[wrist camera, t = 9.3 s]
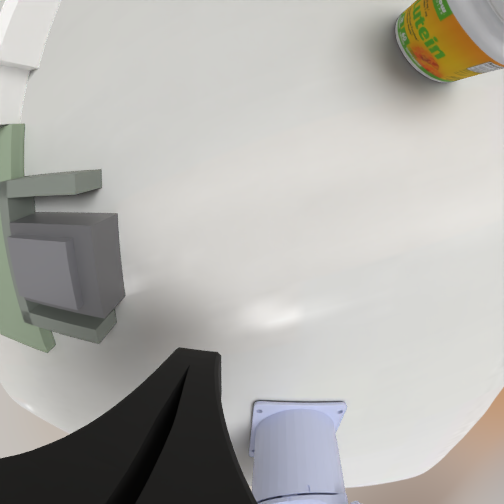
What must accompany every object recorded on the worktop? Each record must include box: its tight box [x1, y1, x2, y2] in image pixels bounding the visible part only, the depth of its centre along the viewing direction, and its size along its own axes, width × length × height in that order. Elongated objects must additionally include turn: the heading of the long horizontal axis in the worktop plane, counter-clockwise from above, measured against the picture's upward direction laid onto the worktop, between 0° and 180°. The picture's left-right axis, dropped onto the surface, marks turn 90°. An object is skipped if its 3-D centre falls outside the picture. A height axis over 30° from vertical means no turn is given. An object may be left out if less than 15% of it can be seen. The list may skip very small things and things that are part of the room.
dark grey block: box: [7, 212, 125, 319], centre depth 17 cm, size 6×8×4 cm
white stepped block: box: [0, 0, 61, 126], centre depth 11 cm, size 15×11×6 cm
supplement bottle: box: [395, 0, 504, 82], centre depth 7 cm, size 6×6×10 cm
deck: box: [0, 124, 117, 353], centre depth 17 cm, size 20×16×3 cm
